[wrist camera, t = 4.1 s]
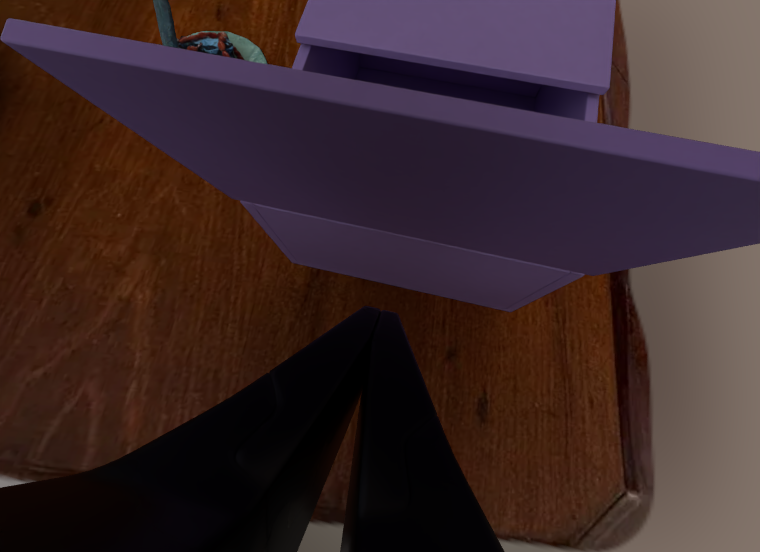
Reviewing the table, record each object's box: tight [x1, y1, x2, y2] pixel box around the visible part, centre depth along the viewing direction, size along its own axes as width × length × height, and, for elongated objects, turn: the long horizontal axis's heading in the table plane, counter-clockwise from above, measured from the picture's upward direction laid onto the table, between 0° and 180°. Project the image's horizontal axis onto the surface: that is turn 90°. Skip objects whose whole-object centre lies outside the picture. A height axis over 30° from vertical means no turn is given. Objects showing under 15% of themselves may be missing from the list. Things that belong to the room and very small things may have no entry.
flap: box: [1, 18, 760, 276], centre depth 8 cm, size 7×13×1 cm
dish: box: [153, 0, 267, 64], centre depth 24 cm, size 8×7×8 cm
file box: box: [241, 0, 616, 312], centre depth 18 cm, size 15×13×8 cm
